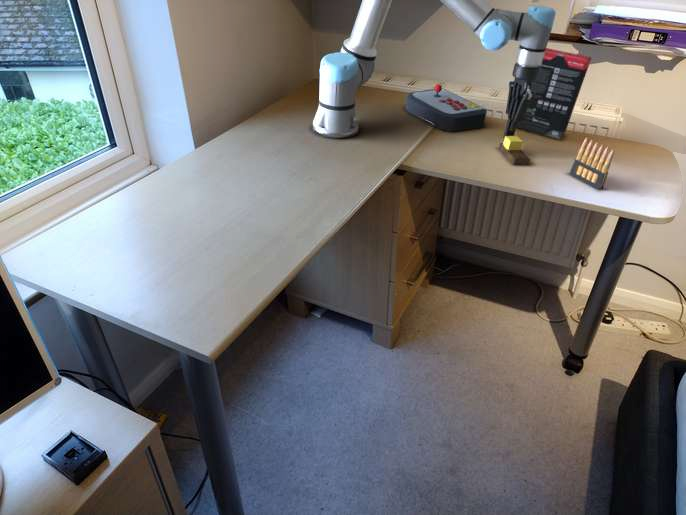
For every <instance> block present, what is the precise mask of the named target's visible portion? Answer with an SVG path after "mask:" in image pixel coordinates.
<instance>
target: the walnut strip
mask: <svg viewBox="0 0 686 515" xmlns="http://www.w3.org/2000/svg"><path fill="white" fill-rule="evenodd" d="M503 143H504V142H500V143H499V145H498V150H499V151H500V152H501V153H502V155H504V157H505V158H506V159H507V160H508V161H509V162H510V163H511V164H512V165H513V166H529V165H530V161H531V158H530V157H529V156H528V155H527V154H526V153H525V152H524V151H523V150H522V149H521V150H507V148H506V147H505V146H504V145H503Z"/></svg>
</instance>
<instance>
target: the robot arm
mask: <svg viewBox="0 0 686 515" xmlns="http://www.w3.org/2000/svg"><path fill="white" fill-rule="evenodd" d="M439 1H440V2H441V3H442V4H443V5H445V7H447V8H448V9H449V10H450V11H451V12H452V13H453V14H455V16H456V17H458V19H459V20H461V21H462V23H464V24H465V25H466V26H467V27H468V28H469V29H470V30H471V31H472V32H473V33H474V34H475V35H476V36H478V38H479V39H480V42H481V44H482V46H483V47H484V49H486V50H489V51H498V50H501V49H503V48H504V47H505V46H506V45H508V43H510V41H515V42H519V46H518V49H517V53H516V57H515V63H514V65H513V69H512V73H511V74H512V75H511V76H512V77H513V78H514V80H513V81H512V80H511V81H509V82H508V94H507V102H506V107H505V114H506V115H507V121H506V125H505V129H504V133H503V137H502V138H503V140H504V139H505V136H515V134H516V130H517V128H516V126H517V123H518V121H523V118H524V116H525V114H526V111H527V109H528V107H529V104H530V102H531V100H532V99H533V98H534V94H531V91H530V90H531V88H532V82H533V81H534V80H536V79H537V78H538V75H539V72H540V65H541V64H542V61H543V57H544V55H545V50H546V48H548V47H547V46H548V43H549V40H550V36H551V33H552V30H553V26H554V21H555V18H556V10H555V9H554V8H553V7H550V6H545V5H530V6H529V8H528V10H527V12H522V11H521V12H520V11H513V10H507V9H500V8H495V7H494V6H492V4H490V3H489V2H488V1H487V0H439ZM392 2H393V0H362V1H361V4H360V8H359V10H358V13H357V16H356V17H355V18H356V19H355V22H354V24H353V28H352V31H351V34H350V36H349V37H348V38H346V39H344V41H343V42H342V46H341V49H340V52H339V51H338V52H333V53H328V54H326V55H325V56H323V57H322V59H321V61H320V66H319V96H318V98H319V99H318V108H317V110H316V114H315V116H314V119H313V121H312V130H313V132H314V133H316V134H317V135H319V136H322V137H325V138H330V139H347V138H352V137H354V136H356V135H357V134H358V133H359V127H360V126H359V121H358V115H357V113H356V108H355V107H356V96H357V95H356V94H357V93H356V92H357V90H358V89H359V88H360V87H361V86H363V85H365V84H366V83H367V82H368V81H369V80H370V79H371V77H372V76H373V73H374V72H375V66H376V64H375V61H376V59H377V55H378V52H377V49H376V45H377V42H378V39H379V37H380V34H381V31H382V29H383V26H384V23H385V21H386V18H387V15H388V13H389V9H390V7H391V3H392Z"/></svg>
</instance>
